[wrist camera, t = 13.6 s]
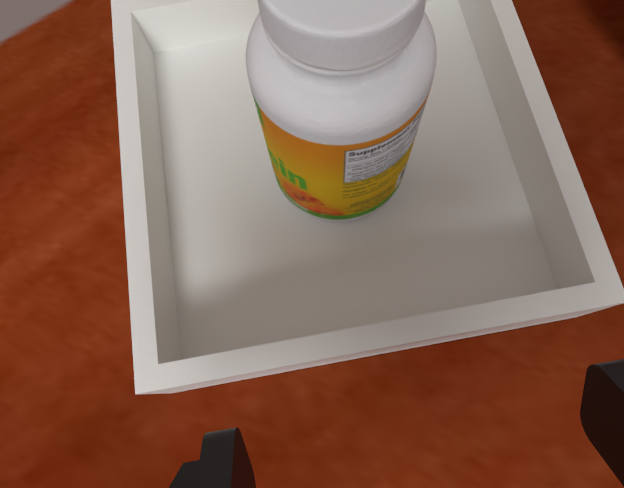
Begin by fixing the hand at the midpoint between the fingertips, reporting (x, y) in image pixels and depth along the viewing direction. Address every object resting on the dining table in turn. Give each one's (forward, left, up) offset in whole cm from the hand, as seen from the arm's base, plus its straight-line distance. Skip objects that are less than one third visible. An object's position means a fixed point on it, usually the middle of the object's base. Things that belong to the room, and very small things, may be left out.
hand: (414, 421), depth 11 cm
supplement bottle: (0, -10, -6) cm, 12 cm away
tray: (0, -10, -7) cm, 12 cm away
